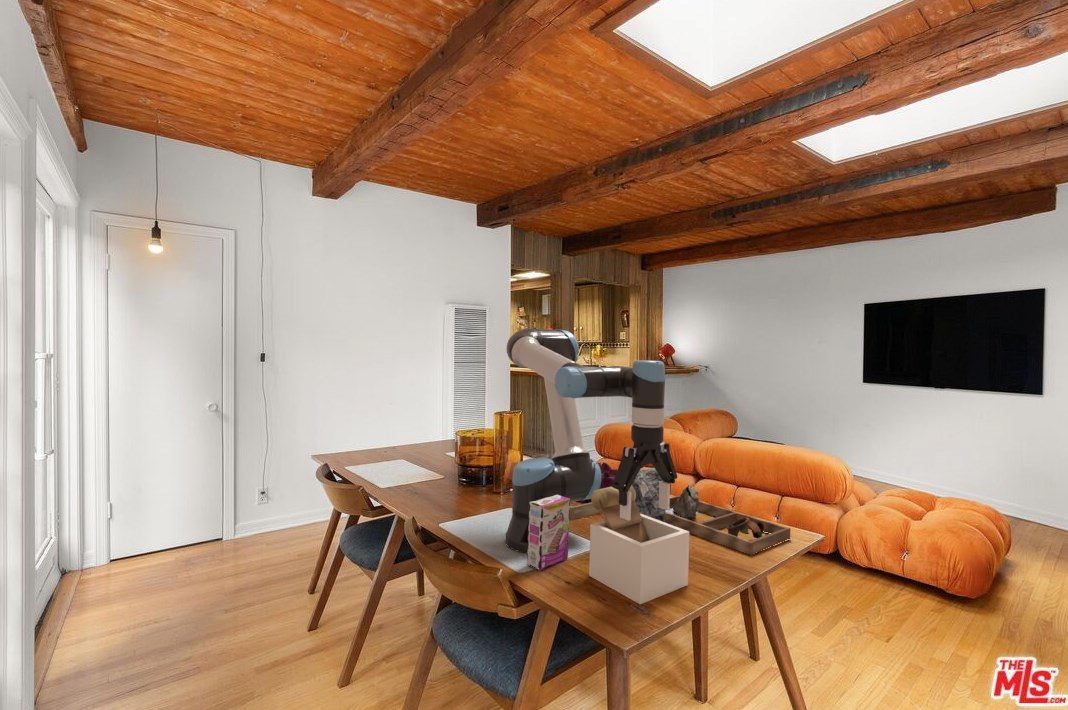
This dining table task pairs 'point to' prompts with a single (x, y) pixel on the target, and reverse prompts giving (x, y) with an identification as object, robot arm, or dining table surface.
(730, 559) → the dining table surface
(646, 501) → the stone block
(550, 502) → the candy bar box
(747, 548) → the walnut tray
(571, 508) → the florist crate
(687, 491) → the concrete fragment
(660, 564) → the white open box
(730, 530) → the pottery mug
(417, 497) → the dining table surface
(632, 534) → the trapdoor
